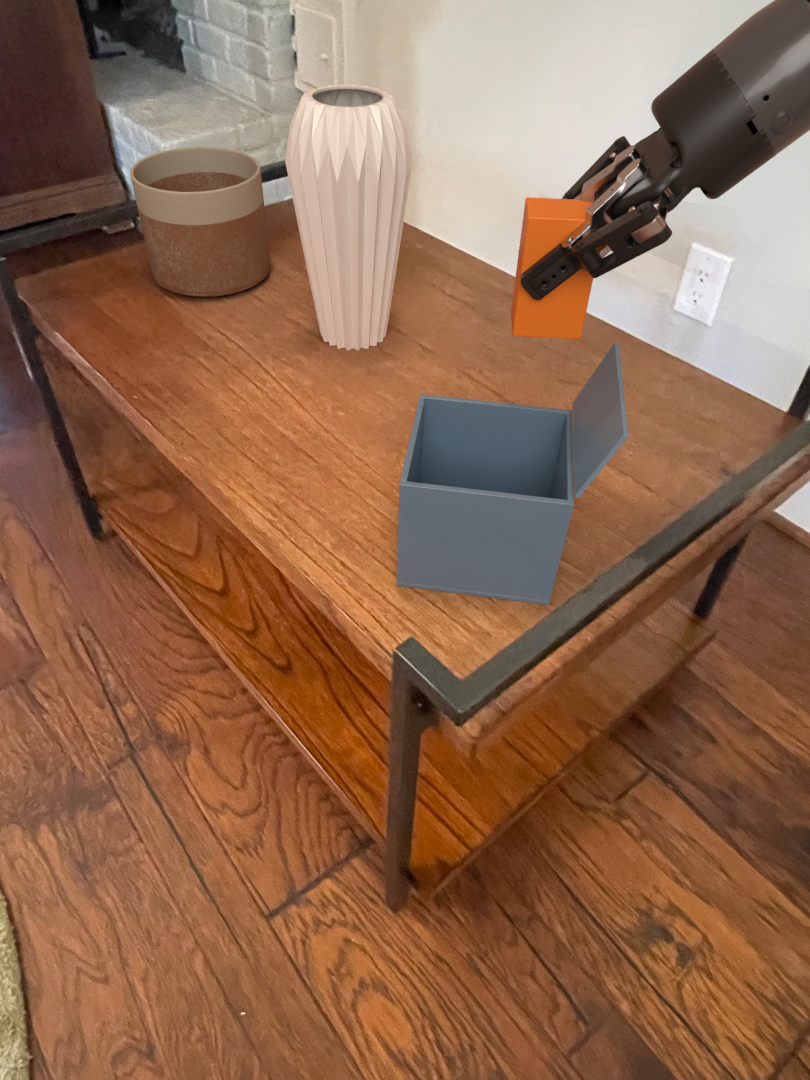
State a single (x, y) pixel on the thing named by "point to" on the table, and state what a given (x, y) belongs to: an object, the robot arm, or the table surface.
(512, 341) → the table surface
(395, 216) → the vase
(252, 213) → the planter
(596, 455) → the gray box lid
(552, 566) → the blue box
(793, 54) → the robot arm
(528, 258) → the block
